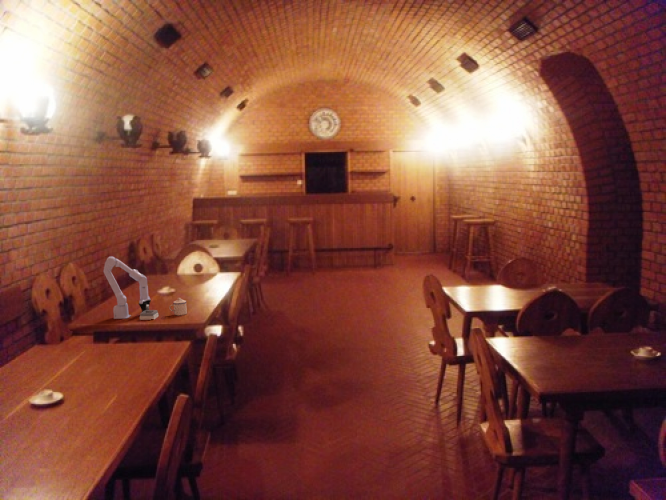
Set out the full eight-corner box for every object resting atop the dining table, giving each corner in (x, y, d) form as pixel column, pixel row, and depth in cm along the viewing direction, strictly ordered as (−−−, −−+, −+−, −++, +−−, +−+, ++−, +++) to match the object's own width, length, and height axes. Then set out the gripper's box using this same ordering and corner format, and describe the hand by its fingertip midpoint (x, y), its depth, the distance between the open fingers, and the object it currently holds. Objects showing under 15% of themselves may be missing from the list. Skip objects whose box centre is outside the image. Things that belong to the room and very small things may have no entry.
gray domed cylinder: (141, 314, 420) (140, 306, 419) (143, 312, 425) (143, 304, 424) (147, 314, 420) (147, 305, 419) (150, 312, 425) (149, 304, 424)
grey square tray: (139, 319, 409) (139, 313, 408) (144, 316, 418) (144, 310, 417) (153, 319, 408) (153, 313, 408) (158, 316, 417) (158, 309, 417)
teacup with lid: (187, 312, 426) (186, 296, 424) (186, 315, 417) (185, 299, 415) (170, 313, 424) (169, 297, 423) (169, 316, 415) (167, 300, 414)
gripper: (145, 295, 413) (147, 313, 415) (153, 290, 427) (154, 308, 429) (135, 295, 413) (137, 314, 415) (143, 290, 427) (145, 308, 429)
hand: (145, 311), depth 422 cm, fingers closed on gray domed cylinder, 5 cm apart
